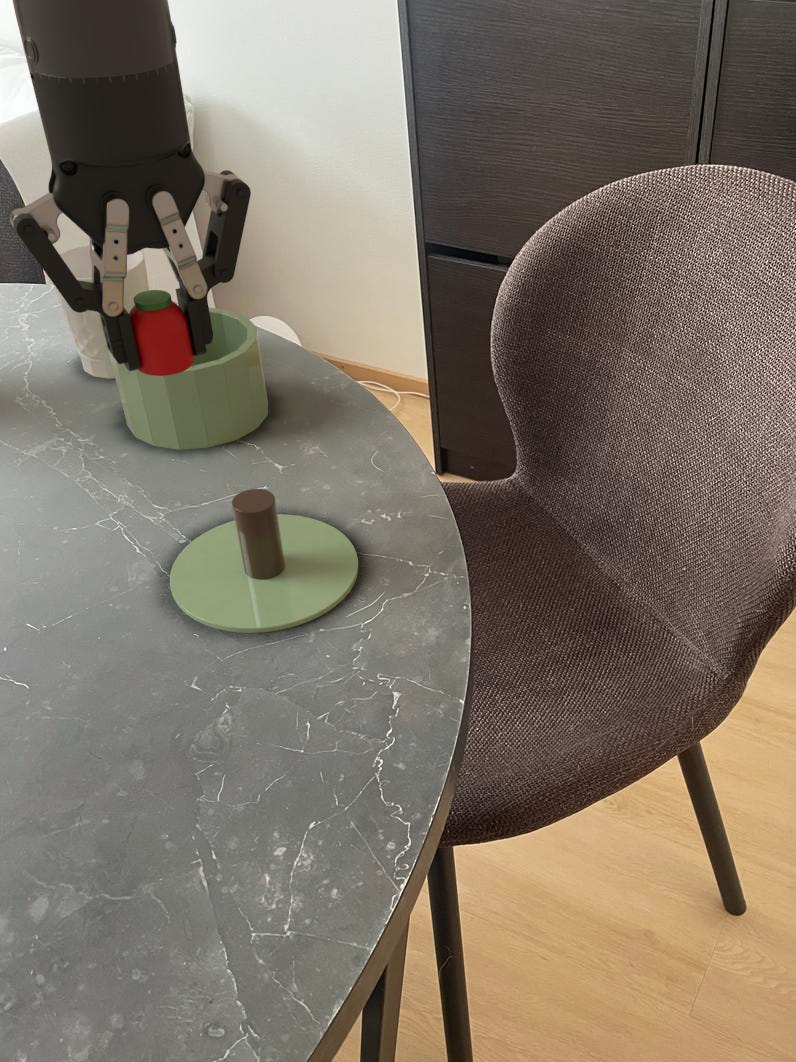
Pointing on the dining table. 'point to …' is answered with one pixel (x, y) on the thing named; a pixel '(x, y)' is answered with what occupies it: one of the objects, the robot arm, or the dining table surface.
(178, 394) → the pot
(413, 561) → the dining table surface
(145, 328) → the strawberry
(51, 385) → the dining table surface
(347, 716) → the dining table surface
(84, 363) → the white cup
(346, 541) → the lid
